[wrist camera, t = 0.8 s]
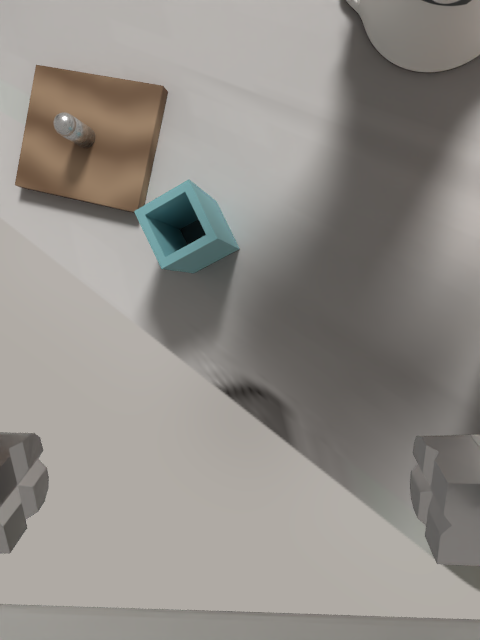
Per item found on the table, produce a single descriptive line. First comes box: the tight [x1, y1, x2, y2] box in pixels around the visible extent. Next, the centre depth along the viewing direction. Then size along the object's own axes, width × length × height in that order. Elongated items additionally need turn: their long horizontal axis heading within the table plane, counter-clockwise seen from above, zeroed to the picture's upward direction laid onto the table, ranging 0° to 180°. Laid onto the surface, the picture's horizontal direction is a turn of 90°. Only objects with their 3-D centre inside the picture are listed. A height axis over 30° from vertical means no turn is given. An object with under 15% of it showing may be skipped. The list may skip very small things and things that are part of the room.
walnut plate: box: [15, 65, 168, 213], centre depth 52 cm, size 14×16×2 cm
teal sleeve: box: [134, 180, 239, 273], centre depth 46 cm, size 6×6×10 cm
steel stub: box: [54, 112, 95, 148], centre depth 49 cm, size 2×2×5 cm
